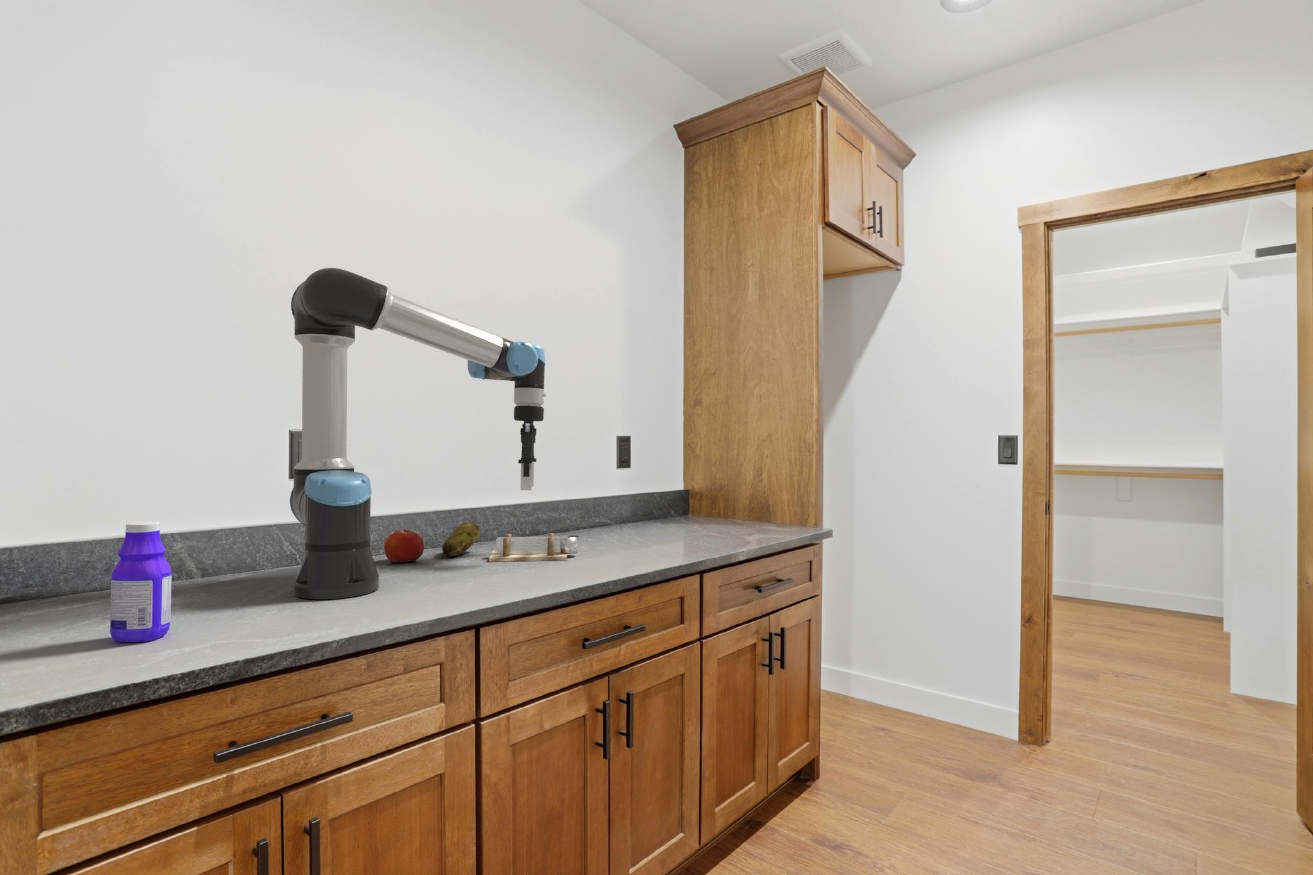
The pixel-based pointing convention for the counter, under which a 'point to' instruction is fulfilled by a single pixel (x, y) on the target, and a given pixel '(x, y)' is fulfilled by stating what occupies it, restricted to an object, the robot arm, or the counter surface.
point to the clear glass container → (539, 545)
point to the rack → (526, 557)
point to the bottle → (141, 586)
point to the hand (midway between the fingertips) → (527, 488)
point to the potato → (461, 539)
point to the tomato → (403, 546)
